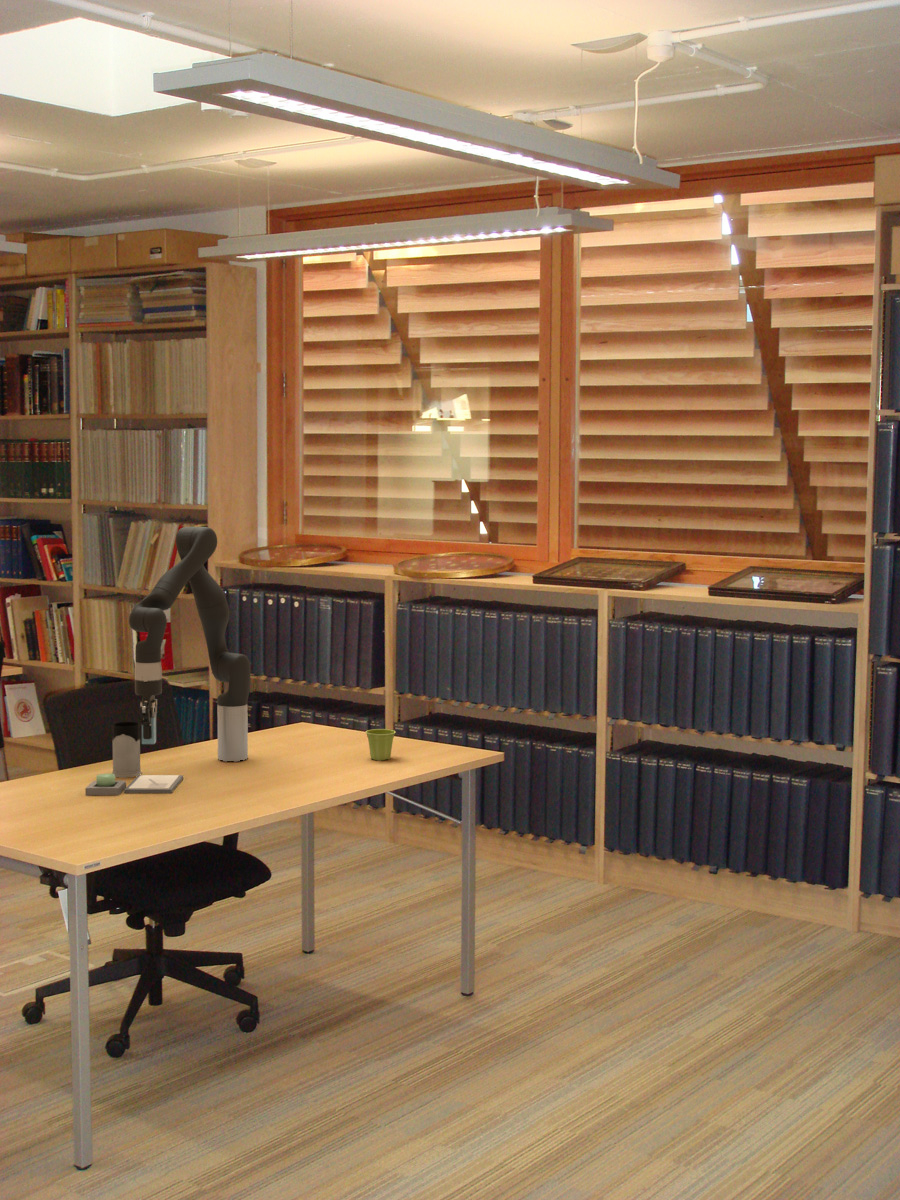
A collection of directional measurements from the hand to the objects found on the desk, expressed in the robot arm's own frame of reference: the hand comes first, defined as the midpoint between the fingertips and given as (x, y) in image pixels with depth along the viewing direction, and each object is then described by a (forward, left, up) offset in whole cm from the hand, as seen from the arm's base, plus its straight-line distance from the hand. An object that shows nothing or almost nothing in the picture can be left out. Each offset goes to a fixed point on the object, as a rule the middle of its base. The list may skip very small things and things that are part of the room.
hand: (148, 737), depth 366 cm
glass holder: (-14, -9, -14) cm, 21 cm away
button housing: (+10, -10, -13) cm, 19 cm away
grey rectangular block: (0, 0, -2) cm, 2 cm away
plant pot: (-34, +65, -14) cm, 75 cm away
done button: (+10, -10, -11) cm, 18 cm away
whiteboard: (+3, +2, -13) cm, 14 cm away
